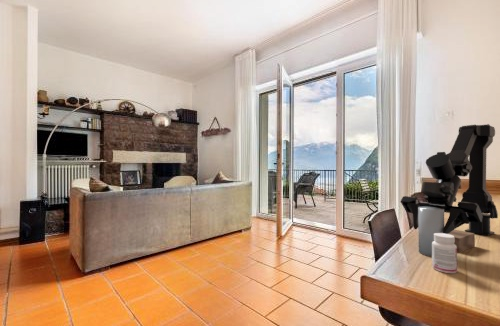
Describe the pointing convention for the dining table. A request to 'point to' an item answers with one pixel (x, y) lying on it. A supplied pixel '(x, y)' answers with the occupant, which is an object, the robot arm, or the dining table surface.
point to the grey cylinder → (429, 227)
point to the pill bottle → (444, 253)
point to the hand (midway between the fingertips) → (428, 231)
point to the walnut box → (463, 240)
